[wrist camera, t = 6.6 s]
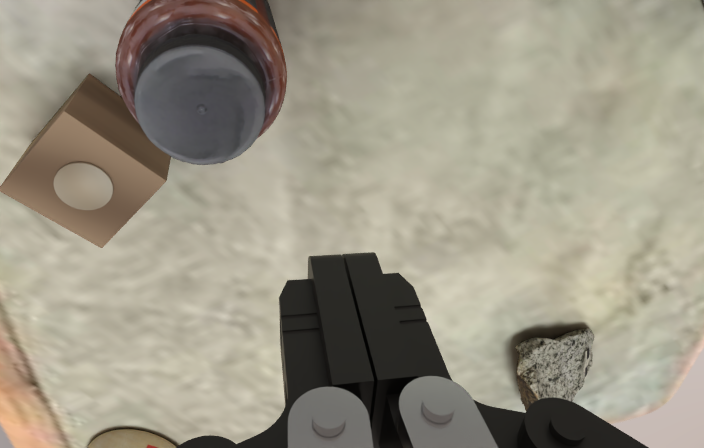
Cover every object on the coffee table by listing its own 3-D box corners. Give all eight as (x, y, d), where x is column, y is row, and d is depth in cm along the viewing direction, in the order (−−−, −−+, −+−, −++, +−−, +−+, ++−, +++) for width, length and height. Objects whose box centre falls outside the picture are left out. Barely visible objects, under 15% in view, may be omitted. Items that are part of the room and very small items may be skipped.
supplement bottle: (121, -30, 23) (54, 36, 14) (250, -63, 24) (265, -19, 15) (174, 94, 27) (147, 211, 18) (285, 64, 27) (316, 164, 18)
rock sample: (643, 388, 45) (611, 466, 39) (560, 384, 51) (523, 451, 45) (596, 288, 43) (556, 355, 38) (516, 295, 49) (471, 354, 43)
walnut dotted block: (89, 72, 26) (62, 112, 21) (174, 136, 28) (165, 183, 24) (32, 141, 27) (-4, 192, 23) (118, 196, 30) (101, 250, 25)
